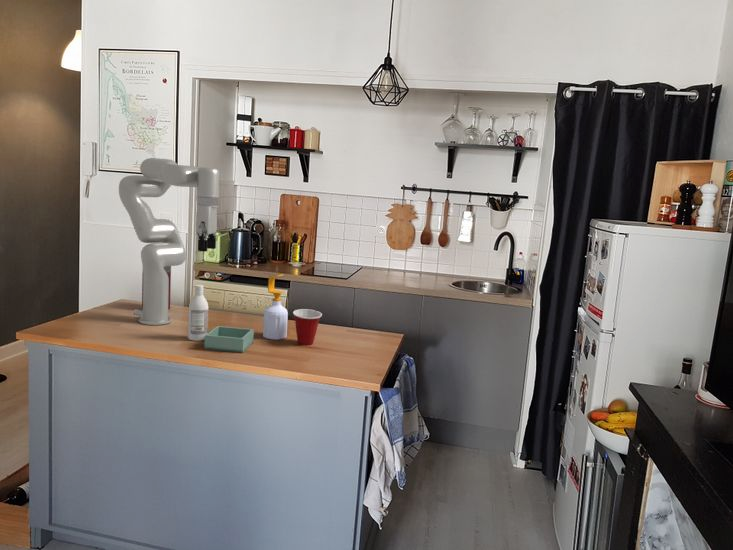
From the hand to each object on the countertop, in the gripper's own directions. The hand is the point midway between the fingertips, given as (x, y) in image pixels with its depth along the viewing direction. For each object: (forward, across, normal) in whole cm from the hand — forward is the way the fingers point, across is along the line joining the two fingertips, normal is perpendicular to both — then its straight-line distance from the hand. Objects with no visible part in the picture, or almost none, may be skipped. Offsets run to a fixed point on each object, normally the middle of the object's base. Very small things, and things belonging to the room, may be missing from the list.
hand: (207, 249), depth 210 cm
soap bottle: (+34, -10, +24) cm, 42 cm away
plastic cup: (+34, -5, +37) cm, 50 cm away
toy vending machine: (+32, -37, -34) cm, 59 cm away
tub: (+33, +7, +11) cm, 36 cm away
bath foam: (+33, +2, -2) cm, 33 cm away
